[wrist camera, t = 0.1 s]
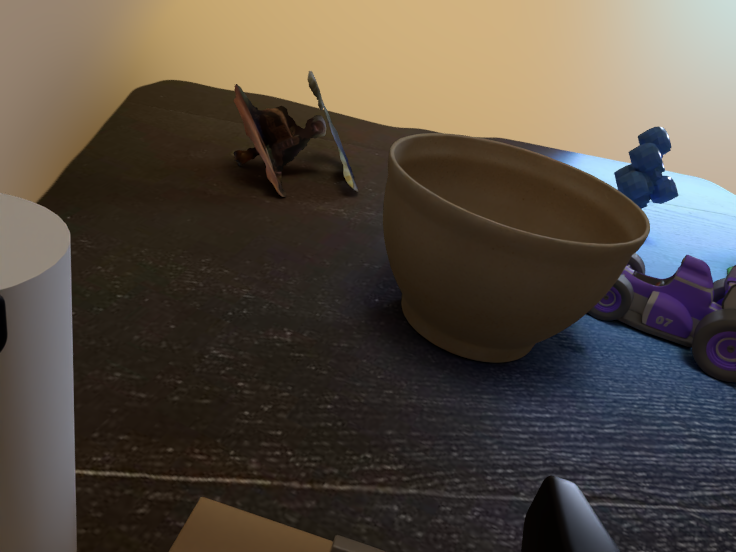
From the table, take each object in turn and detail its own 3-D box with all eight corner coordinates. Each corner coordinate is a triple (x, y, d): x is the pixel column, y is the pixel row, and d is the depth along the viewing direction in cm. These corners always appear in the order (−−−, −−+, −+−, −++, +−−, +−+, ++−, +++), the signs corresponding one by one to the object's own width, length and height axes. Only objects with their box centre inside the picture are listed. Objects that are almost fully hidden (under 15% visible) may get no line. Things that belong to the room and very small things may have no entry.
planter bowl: (306, 286, 41) (337, 134, 36) (456, 252, 52) (496, 130, 47) (481, 439, 32) (557, 262, 27) (621, 358, 42) (694, 221, 37)
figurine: (359, 219, 64) (311, 127, 68) (407, 169, 58) (352, 71, 62) (238, 230, 54) (190, 121, 57) (282, 171, 48) (225, 54, 52)
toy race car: (576, 266, 55) (605, 201, 52) (749, 341, 50) (793, 273, 47) (548, 302, 47) (580, 229, 44) (749, 395, 42) (801, 319, 39)
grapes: (645, 262, 60) (703, 148, 54) (580, 235, 63) (630, 124, 57) (658, 232, 69) (709, 132, 64) (601, 210, 72) (645, 112, 66)
